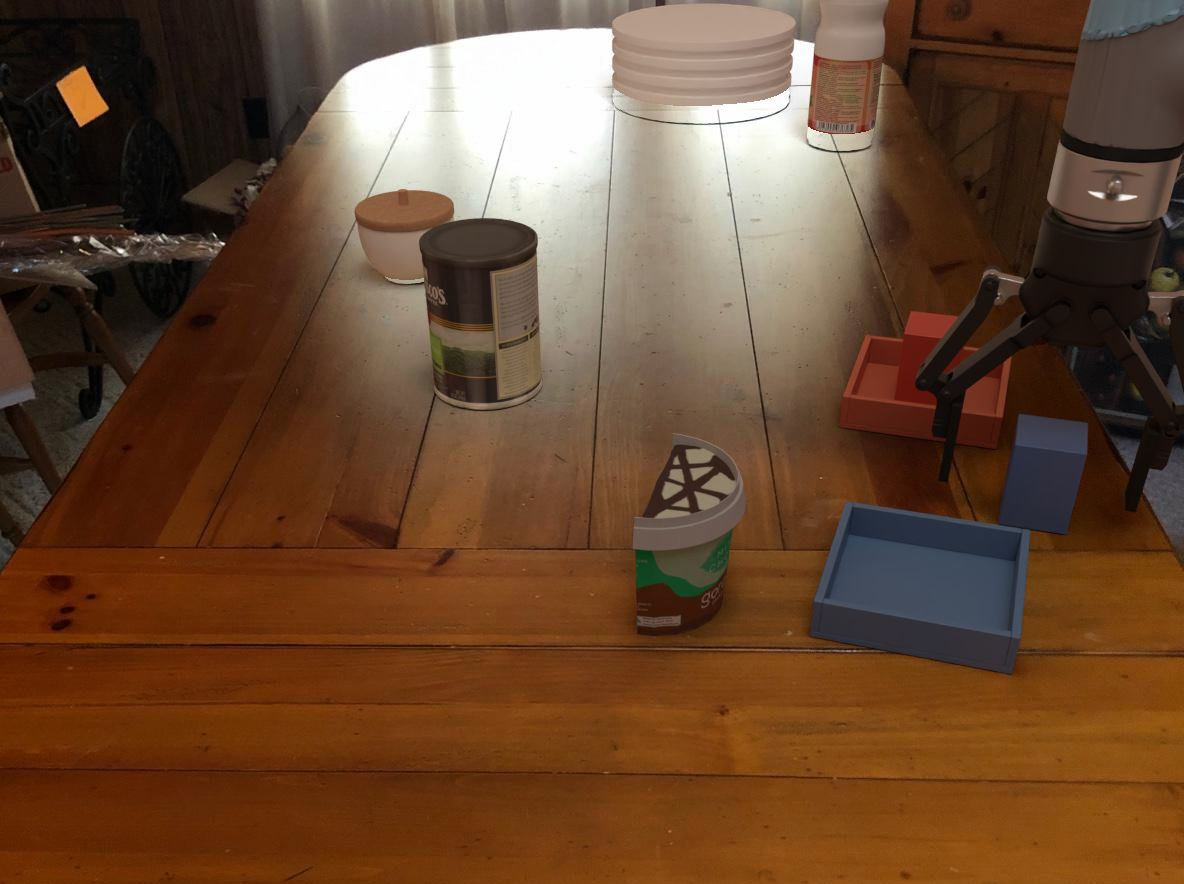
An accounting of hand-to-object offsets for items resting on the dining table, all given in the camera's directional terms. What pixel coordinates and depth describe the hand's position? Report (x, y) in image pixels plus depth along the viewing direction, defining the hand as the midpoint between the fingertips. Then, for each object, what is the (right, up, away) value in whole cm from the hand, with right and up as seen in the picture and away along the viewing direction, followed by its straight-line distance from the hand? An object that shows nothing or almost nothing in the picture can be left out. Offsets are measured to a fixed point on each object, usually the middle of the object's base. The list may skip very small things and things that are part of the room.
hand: (1035, 488), depth 93 cm
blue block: (0, -2, +1) cm, 2 cm away
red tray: (-4, +9, +16) cm, 19 cm away
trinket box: (-54, +28, +43) cm, 75 cm away
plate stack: (-16, +71, +100) cm, 124 cm away
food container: (-27, -9, -7) cm, 29 cm away
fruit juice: (+2, +56, +80) cm, 98 cm away
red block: (-4, +9, +16) cm, 19 cm away
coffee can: (-43, +11, +21) cm, 49 cm away
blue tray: (-11, -8, -7) cm, 16 cm away
